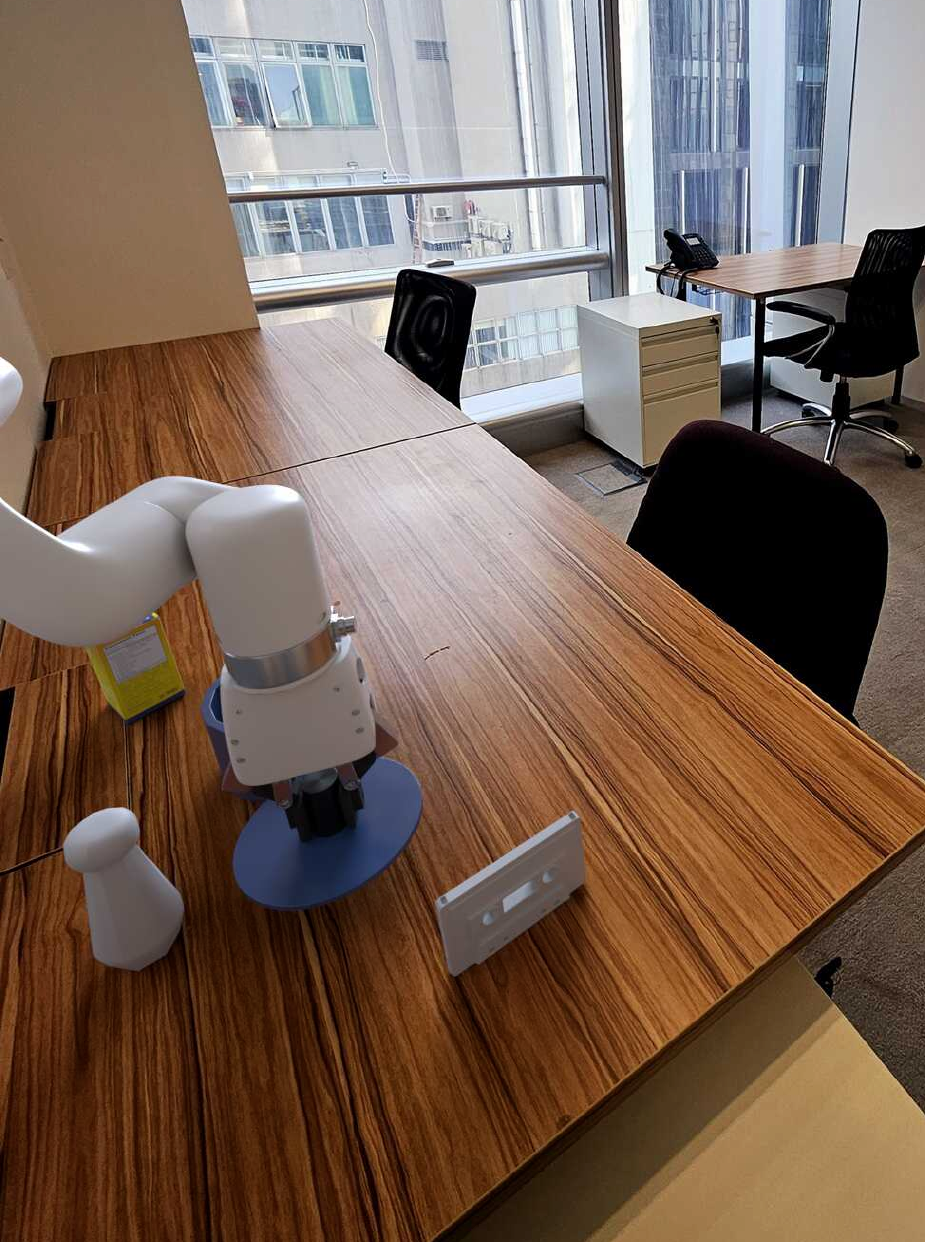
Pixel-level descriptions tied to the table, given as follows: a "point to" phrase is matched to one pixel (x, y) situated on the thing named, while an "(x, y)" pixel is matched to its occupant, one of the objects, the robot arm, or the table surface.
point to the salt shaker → (123, 891)
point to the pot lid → (328, 840)
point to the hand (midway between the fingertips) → (330, 819)
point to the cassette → (511, 894)
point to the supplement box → (137, 671)
